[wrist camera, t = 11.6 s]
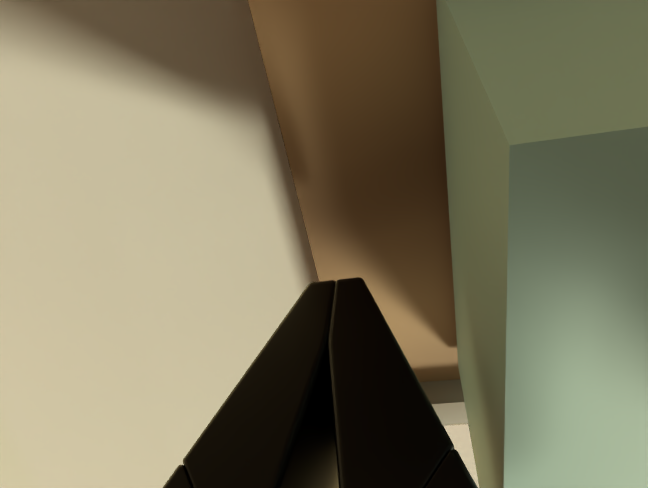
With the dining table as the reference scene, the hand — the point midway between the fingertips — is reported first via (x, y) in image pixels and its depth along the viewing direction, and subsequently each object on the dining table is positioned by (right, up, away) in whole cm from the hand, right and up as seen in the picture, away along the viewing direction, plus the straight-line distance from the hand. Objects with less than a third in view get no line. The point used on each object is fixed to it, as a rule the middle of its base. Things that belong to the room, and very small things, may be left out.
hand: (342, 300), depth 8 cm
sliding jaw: (+3, +1, +1) cm, 3 cm away
